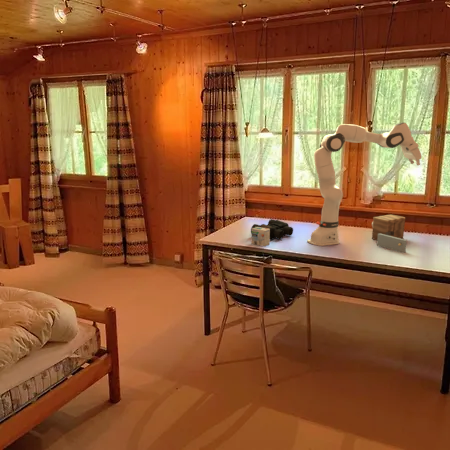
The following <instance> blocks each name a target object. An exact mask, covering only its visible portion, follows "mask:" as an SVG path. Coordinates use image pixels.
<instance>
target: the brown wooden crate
mask: <svg viewBox="0 0 450 450" xmlns="http://www.w3.org/2000/svg"><path fill="white" fill-rule="evenodd" d="M372 220H373V221H372V222H373V228H372V233H371V238H372V240H375V241H377V238H378V234H380V233H381V234H385V235H389V236H393V237H397V238H401V239H404V235H405V234H404V233H405V223H406V217H405V216H401V215H395V214H391V213H390V214H386V215H379V216H373V217H372Z"/></svg>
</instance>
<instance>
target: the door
mask: <svg viewBox="0 0 450 450" xmlns="http://www.w3.org/2000/svg"><path fill="white" fill-rule="evenodd" d="M407 241H408V240H407V239H404V238H403V239H401V238H397V237H393V236H389V235H385V234H381V233H380V234H378V238H377V240H376V246H377V247H381V248H384V249H388V250H392V251H395V252H396V251H397V252H399V253H402V254H403V253H406V251H407Z"/></svg>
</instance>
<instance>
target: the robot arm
mask: <svg viewBox="0 0 450 450" xmlns="http://www.w3.org/2000/svg"><path fill="white" fill-rule="evenodd" d="M345 142H347V143H359V144H361V143H364V142H368V143H372V144H373V143H374V144H377V145H379V147H382V148H383V149H384V148H387V149H395V148H397V147H398V146H400V148H401V151H402V154H403V157H404V158H406V159H407V160H408V161H409V163H410V164H411V165H413V164H415V163H416V166H421V162H420V160H421V159H422V153H421V151H420V148H419V143H417V142H416V141H415V139H414V137H413V136H412V132H411V129H410V127H409V125H408V124H407V123H406V122H397V123H395V124H394V125H393V127H392V128H391V130H390V131H389V132H388V131H387V132H381V133H375V132H370V131H368V130H367V128H366V127H363V126H360V125H357V124H347V123H341V124H339V125H338V126H337V128H336V130H335V132H334V133H329V134H325V135H323V137H322V138H321V140H320V144H319V148H318V149H315V151H314V152H313V154H314V155H313V160H314V164H315V169H316V173H317V176H318V184H319V192H320V194H321V197H322V198H324V199H323V200H324V201H323V204H322V205H323V206H322V208H321V219H320V221H316V222H315V223H316V225H318V226H317V228H315V230H313V232H311V235H310V239H307V241H306V242H307V243H308V244H311V245H314V246H319V247H322V246H332V245H339V244H340V238H339V213H340V212H339V211H340V205H341V201H342V199H343V197H344V193H343V191H342V188H341V187H340V186H337V184H336V172H335V167H334V164H333V160H332V153H337V152H339V151H340V150H341V149H342V148H343V146H344V144H345ZM414 161H415V162H414Z"/></svg>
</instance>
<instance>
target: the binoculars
mask: <svg viewBox="0 0 450 450" xmlns="http://www.w3.org/2000/svg"><path fill="white" fill-rule="evenodd" d="M255 227H261V228H268V229H270V240H274V239H277V240H282V239H283V238H284V236H289V237H291V236H292V235H293V233H294V227H292V226H289V224H288V222H285V221H282V220H279V219H271V218H270V219H269V221H268V222H267V224H265V223H261V224H258V223H254V224H252V226H251V228H250V234H251V235H252V228H255Z"/></svg>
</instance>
